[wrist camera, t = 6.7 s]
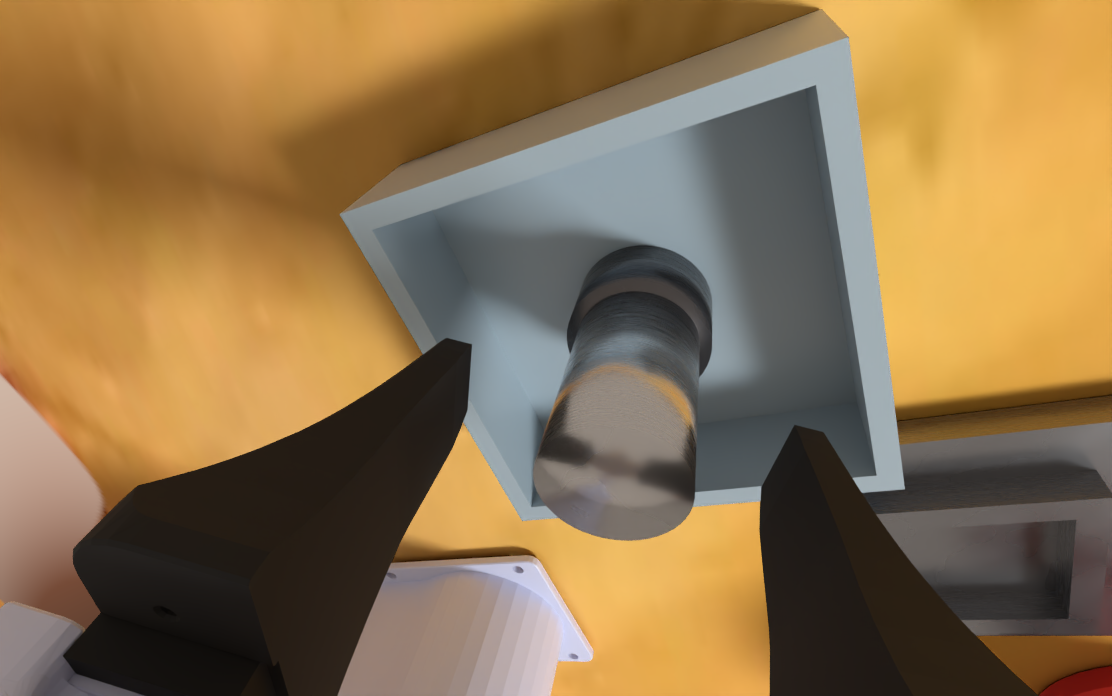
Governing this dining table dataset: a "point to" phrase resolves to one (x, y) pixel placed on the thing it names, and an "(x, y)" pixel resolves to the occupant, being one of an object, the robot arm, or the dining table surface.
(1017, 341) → the dining table surface
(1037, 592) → the gray recessed square plate
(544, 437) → the metal flanged cylinder
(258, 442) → the dining table surface
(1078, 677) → the canned food
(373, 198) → the bin
